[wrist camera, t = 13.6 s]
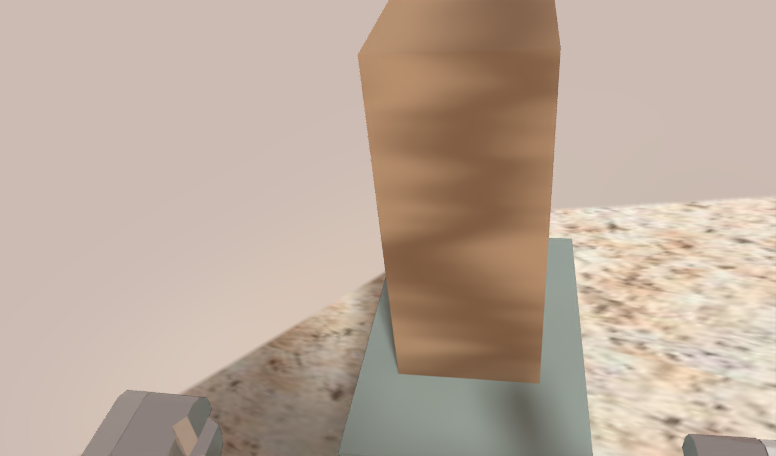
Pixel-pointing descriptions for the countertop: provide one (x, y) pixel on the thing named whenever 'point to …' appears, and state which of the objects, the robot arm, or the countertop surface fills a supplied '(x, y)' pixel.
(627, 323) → the countertop surface
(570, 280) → the base block
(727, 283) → the countertop surface
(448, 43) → the pillar
